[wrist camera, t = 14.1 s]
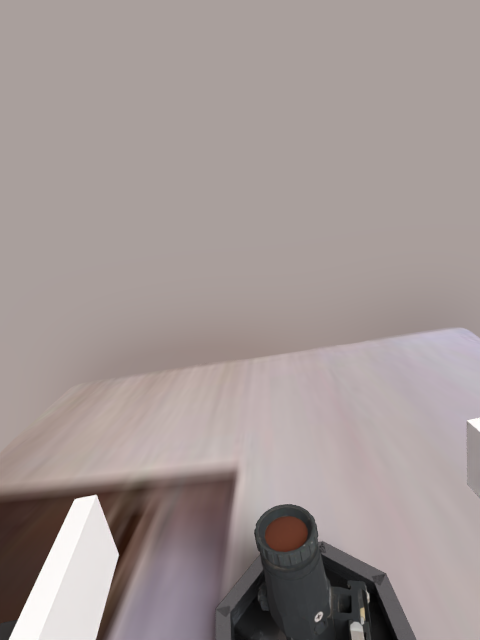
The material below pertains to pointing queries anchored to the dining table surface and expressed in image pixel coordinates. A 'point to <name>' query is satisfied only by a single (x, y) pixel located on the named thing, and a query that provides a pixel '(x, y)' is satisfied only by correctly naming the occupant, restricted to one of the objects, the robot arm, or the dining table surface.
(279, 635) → the dark grey octagonal bowl
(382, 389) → the dining table surface
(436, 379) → the dining table surface
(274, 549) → the scope
